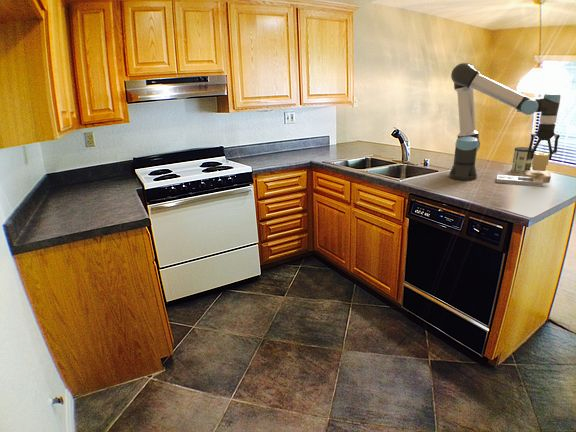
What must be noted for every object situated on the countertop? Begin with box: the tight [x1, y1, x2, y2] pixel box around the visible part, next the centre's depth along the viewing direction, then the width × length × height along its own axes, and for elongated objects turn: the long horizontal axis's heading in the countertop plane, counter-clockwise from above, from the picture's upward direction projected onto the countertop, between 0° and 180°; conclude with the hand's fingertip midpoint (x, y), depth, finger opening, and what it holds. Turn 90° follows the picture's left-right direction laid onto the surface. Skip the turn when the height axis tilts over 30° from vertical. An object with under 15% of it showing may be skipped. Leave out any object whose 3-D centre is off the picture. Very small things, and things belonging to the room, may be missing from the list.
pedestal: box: [523, 169, 552, 182], centre depth 216 cm, size 12×12×3 cm
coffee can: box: [510, 146, 534, 174], centre depth 231 cm, size 10×10×14 cm
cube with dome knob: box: [531, 152, 549, 172], centre depth 213 cm, size 6×6×9 cm
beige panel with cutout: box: [495, 174, 544, 187], centre depth 210 cm, size 22×11×2 cm, turn 60°
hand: (539, 164), depth 213 cm, fingers closed on cube with dome knob, 6 cm apart
